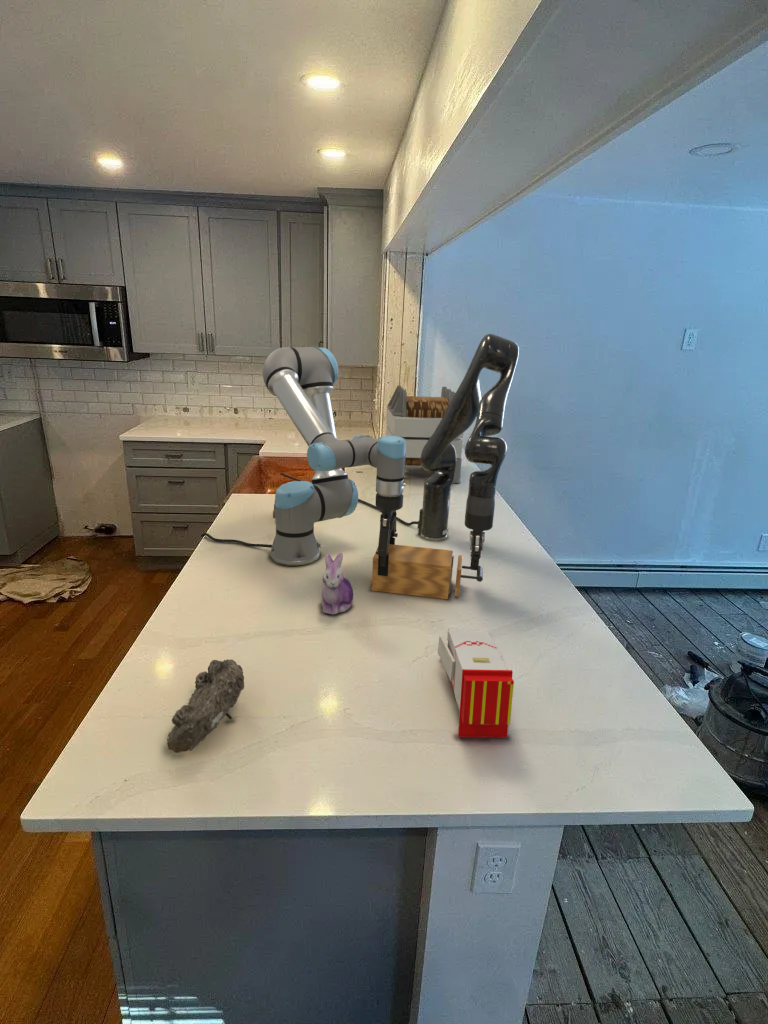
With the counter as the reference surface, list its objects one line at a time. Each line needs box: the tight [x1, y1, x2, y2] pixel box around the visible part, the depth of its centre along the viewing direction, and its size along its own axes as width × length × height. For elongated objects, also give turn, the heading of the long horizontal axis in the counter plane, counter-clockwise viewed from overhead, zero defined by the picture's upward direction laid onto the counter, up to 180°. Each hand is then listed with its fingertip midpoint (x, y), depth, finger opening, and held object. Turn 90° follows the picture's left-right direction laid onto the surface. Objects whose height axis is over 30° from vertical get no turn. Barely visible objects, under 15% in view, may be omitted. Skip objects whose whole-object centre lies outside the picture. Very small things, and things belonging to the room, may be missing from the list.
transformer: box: [385, 384, 464, 484], centre depth 268 cm, size 34×33×41 cm
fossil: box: [166, 658, 245, 754], centre depth 106 cm, size 22×10×15 cm
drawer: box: [449, 554, 484, 598], centre depth 160 cm, size 26×10×8 cm, turn 81°
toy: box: [437, 628, 515, 738], centre depth 117 cm, size 12×13×30 cm
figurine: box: [321, 552, 354, 615], centre depth 147 cm, size 9×10×15 cm
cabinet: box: [371, 544, 454, 600], centre depth 161 cm, size 21×11×10 cm, turn 81°
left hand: (386, 566), depth 162 cm, fingers closed on cabinet, 11 cm apart
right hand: (474, 568), depth 158 cm, fingers closed
